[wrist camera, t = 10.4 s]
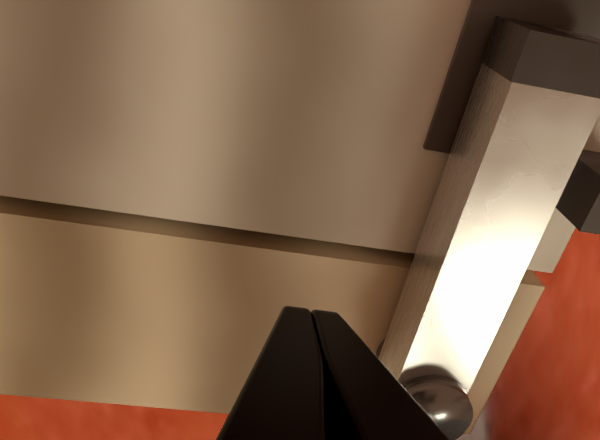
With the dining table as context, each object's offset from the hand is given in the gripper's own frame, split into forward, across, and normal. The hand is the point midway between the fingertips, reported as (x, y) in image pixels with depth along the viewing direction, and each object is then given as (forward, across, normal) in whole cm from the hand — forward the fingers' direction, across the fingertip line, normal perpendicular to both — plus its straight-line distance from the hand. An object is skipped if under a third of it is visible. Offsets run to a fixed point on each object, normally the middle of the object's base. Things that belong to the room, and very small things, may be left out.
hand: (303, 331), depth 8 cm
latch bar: (+8, -6, +2) cm, 10 cm away
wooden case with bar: (+13, 0, +2) cm, 13 cm away
